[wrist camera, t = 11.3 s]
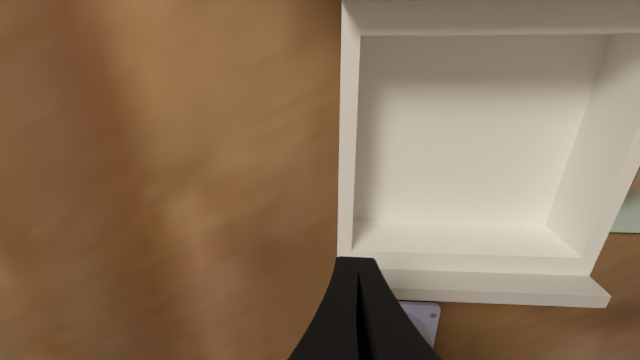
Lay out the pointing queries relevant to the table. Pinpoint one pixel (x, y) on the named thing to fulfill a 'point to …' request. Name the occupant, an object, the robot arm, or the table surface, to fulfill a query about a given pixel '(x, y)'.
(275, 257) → the table surface
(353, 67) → the box
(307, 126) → the table surface
